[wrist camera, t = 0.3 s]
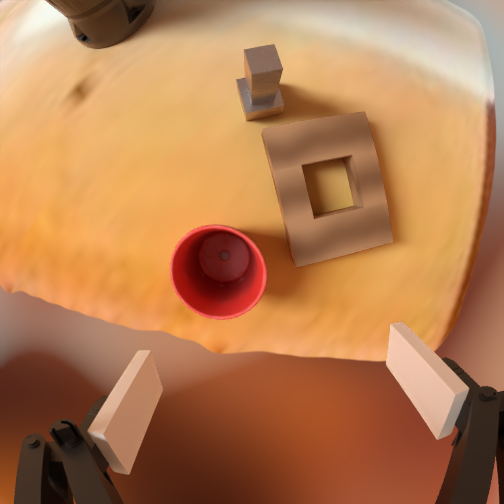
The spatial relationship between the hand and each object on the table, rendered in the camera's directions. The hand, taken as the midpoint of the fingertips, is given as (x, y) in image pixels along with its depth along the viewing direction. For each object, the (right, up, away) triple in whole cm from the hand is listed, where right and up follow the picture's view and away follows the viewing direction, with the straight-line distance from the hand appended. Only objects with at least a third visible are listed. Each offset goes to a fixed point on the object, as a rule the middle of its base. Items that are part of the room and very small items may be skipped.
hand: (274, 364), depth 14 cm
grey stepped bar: (0, +27, +22) cm, 35 cm away
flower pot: (-5, +5, +27) cm, 28 cm away
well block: (+9, +15, +24) cm, 30 cm away
